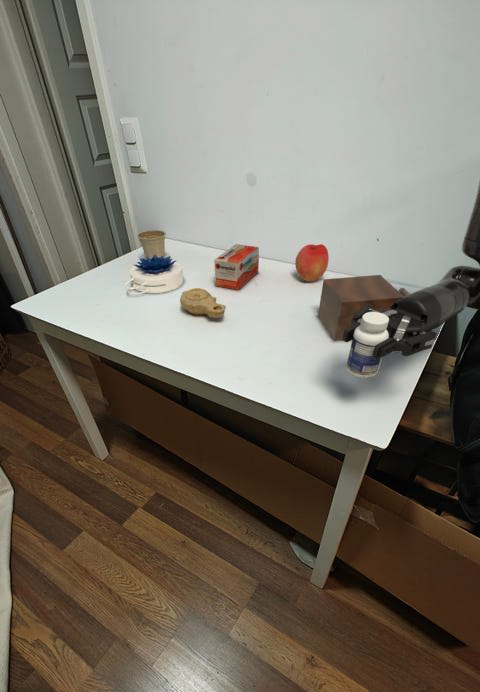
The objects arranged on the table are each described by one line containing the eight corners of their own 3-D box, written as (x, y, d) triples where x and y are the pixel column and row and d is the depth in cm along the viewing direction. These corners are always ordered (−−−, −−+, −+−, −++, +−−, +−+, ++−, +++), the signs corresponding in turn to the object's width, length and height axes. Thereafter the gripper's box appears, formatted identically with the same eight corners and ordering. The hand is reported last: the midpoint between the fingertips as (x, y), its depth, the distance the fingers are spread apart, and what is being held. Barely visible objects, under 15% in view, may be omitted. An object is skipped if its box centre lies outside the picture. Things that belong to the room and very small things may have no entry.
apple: (323, 274, 109) (329, 240, 102) (326, 286, 102) (332, 251, 95) (293, 273, 110) (296, 239, 103) (293, 285, 103) (297, 250, 96)
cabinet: (370, 311, 91) (380, 274, 84) (391, 335, 83) (405, 297, 76) (317, 315, 90) (323, 279, 83) (334, 341, 81) (342, 302, 74)
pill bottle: (353, 357, 62) (365, 306, 55) (382, 366, 60) (398, 314, 53) (340, 372, 59) (352, 320, 52) (370, 382, 57) (386, 329, 50)
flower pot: (148, 255, 123) (143, 229, 116) (173, 257, 121) (169, 230, 115) (138, 265, 116) (132, 238, 110) (164, 267, 115) (159, 239, 109)
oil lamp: (222, 326, 87) (221, 307, 83) (171, 318, 90) (168, 300, 86) (235, 307, 94) (235, 289, 90) (187, 301, 97) (185, 283, 93)
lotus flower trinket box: (152, 247, 109) (104, 267, 97) (191, 256, 103) (144, 279, 91) (156, 269, 114) (111, 291, 102) (193, 279, 108) (149, 304, 96)
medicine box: (236, 268, 113) (235, 242, 107) (258, 272, 111) (259, 246, 105) (214, 286, 103) (213, 259, 98) (239, 291, 101) (238, 263, 95)
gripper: (393, 278, 63) (329, 306, 56) (470, 306, 54) (406, 342, 48) (382, 316, 68) (322, 345, 61) (451, 347, 60) (391, 385, 53)
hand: (359, 344), depth 54 cm, fingers closed on pill bottle, 5 cm apart
